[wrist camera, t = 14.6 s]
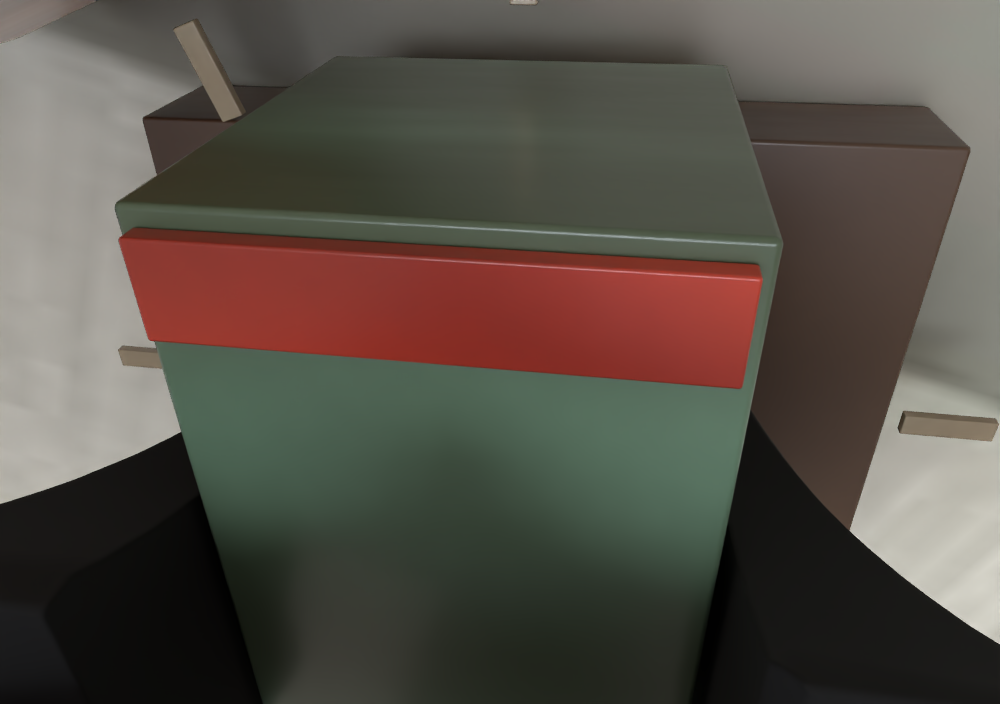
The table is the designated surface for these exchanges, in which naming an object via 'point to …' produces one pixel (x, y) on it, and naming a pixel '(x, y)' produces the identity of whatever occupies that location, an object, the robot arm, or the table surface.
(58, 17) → the orange rectangular box
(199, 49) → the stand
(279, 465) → the green and red block
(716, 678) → the robot arm
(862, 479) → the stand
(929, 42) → the table surface
